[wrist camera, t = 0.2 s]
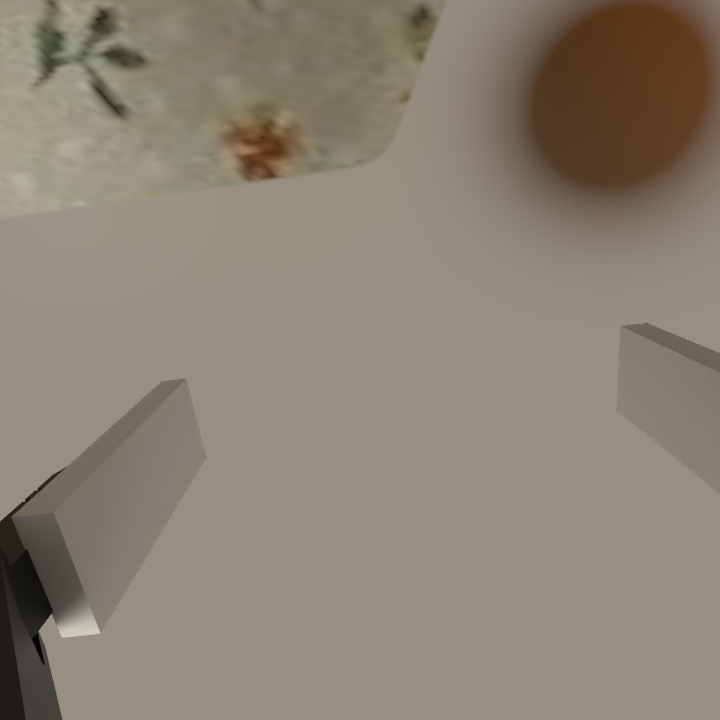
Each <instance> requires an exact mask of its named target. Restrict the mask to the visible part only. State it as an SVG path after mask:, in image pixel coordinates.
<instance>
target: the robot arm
mask: <svg viewBox="0 0 720 720" xmlns="http://www.w3.org/2000/svg"><path fill="white" fill-rule="evenodd" d="M620 329H621V330H620V349H619V350H620V351H619V371H618V392H617V411H618V412H619V413H620V414H621V415H622V416H624V417H625V418H626V419H627V420H629V421H630V422H631V423H632V424H633V425H635V426H636V427H637V428H638V429H640V430H641V431H642V432H643V433H645V434H646V435H647V436H648V437H650V438H651V439H652V440H653V441H655V442H656V443H657V444H658V445H659V446H661V447H662V448H663V449H664V450H666V451H667V452H668V453H669V454H671V455H672V456H673V457H674V458H676V459H677V460H678V461H679V462H681V463H682V464H683V465H684V466H685V467H687V468H688V469H689V470H690V471H692V472H693V473H694V474H696V475H697V476H698V477H699V478H700V479H702V480H703V481H704V482H705V483H707V484H708V485H709V486H710V487H711V488H713V489H714V490H715V491H717V492H718V493H719V494H720V353H718V352H715V351H713V350H710V349H708V348H706V347H703V346H701V345H699V344H696V343H694V342H691V341H689V340H686V339H684V338H682V337H679V336H677V335H675V334H672V333H670V332H667V331H665V330H663V329H660V328H658V327H655V326H653V325H650V324H648V323H642V324H634V325H627V326H621V328H620ZM205 459H206V454H205V450H204V446H203V442H202V439H201V434H200V430H199V427H198V423H197V419H196V415H195V411H194V407H193V403H192V400H191V396H190V392H189V388H188V384H187V380H186V379H178V380H169V381H162V382H161V383H160V384H158V385H157V386H156V387H155V388H154V389H153V390H152V391H150V392H149V393H148V394H147V395H146V396H145V397H144V398H143V399H142V400H141V401H139V402H138V403H137V404H136V405H135V406H134V407H133V408H132V409H131V410H129V411H128V412H127V413H126V414H125V415H124V416H123V417H122V418H121V419H119V420H118V421H117V422H116V423H115V424H114V425H113V426H112V427H111V428H109V429H108V430H107V431H106V432H105V433H104V434H103V435H102V436H101V437H99V439H97V440H96V441H95V442H94V443H93V444H92V445H91V446H90V447H88V448H87V449H86V450H85V451H84V452H83V453H82V454H81V455H80V456H78V457H77V458H76V459H75V460H74V461H73V462H72V463H71V464H70V465H68V466H67V467H65V468H64V469H62V470H60V471H59V472H57V473H55V474H54V475H52V476H51V477H50V478H49V479H48V480H46V481H45V482H44V483H43V484H42V485H41V486H40V487H39V488H38V491H34V492H33V493H32V494H31V495H30V496H28V498H26V499H25V502H22V503H21V504H20V505H18V506H17V507H16V508H15V509H14V510H13V511H12V512H10V513H9V514H8V515H7V516H6V517H5V518H4V519H3V520H1V521H0V720H62V716H61V713H60V708H59V704H58V700H57V696H56V691H55V687H54V683H53V679H52V674H51V670H50V666H49V662H48V657H47V654H46V649H45V645H44V643H43V641H42V638H41V636H40V634H39V632H38V631H39V630H40V628H41V627H42V625H43V624H44V623H45V622H46V620H47V619H48V618H49V616H50V615H51V614H52V615H53V618H54V620H55V622H56V624H57V627H58V629H59V632H60V634H61V637H73V636H82V635H92V634H101V632H102V630H103V629H104V627H105V626H106V623H107V622H108V620H109V619H110V617H111V616H112V614H113V612H114V610H115V609H116V607H117V605H118V604H119V602H120V601H121V599H122V597H123V596H124V594H125V592H126V591H127V589H128V587H129V586H130V584H131V582H132V580H133V579H134V577H135V576H136V574H137V572H138V571H139V569H140V567H141V565H142V564H143V562H144V561H145V559H146V557H147V556H148V554H149V552H150V551H151V549H152V547H153V545H154V544H155V542H156V541H157V539H158V537H159V536H160V534H161V532H162V531H163V529H164V527H165V526H166V524H167V522H168V520H169V519H170V517H171V516H172V514H173V512H174V511H175V509H176V507H177V506H178V504H179V502H180V501H181V499H182V497H183V496H184V494H185V492H186V491H187V489H188V487H189V486H190V484H191V482H192V481H193V479H194V477H195V476H196V474H197V472H198V471H199V469H200V467H201V466H202V464H203V462H204V461H205Z"/></svg>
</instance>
